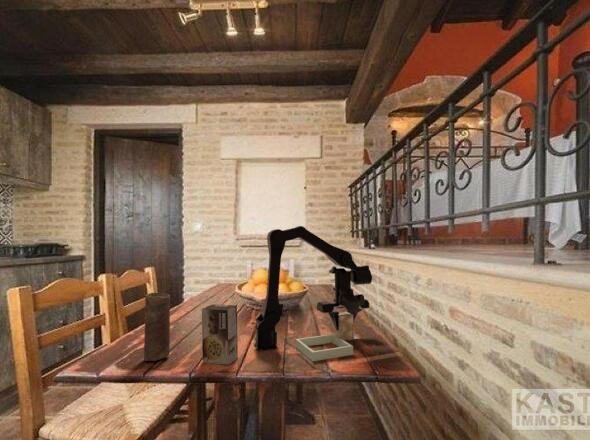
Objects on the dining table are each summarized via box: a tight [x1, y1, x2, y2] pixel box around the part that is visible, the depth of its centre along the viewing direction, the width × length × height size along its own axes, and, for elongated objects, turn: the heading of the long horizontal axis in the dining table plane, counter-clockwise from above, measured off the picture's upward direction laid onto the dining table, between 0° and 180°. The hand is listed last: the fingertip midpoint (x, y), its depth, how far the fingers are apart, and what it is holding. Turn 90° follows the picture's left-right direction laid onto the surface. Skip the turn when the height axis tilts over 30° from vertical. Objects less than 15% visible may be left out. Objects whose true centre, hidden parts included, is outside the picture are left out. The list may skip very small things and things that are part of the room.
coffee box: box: [201, 304, 239, 365], centre depth 103 cm, size 9×6×16 cm
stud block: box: [332, 333, 360, 342], centre depth 120 cm, size 8×8×5 cm
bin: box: [295, 333, 354, 366], centre depth 106 cm, size 14×14×4 cm
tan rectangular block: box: [333, 311, 355, 339], centre depth 120 cm, size 5×5×8 cm
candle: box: [143, 292, 171, 362], centre depth 105 cm, size 8×7×20 cm
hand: (343, 329), depth 120 cm, fingers closed on tan rectangular block, 5 cm apart
